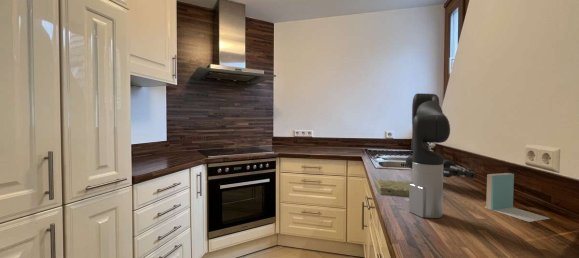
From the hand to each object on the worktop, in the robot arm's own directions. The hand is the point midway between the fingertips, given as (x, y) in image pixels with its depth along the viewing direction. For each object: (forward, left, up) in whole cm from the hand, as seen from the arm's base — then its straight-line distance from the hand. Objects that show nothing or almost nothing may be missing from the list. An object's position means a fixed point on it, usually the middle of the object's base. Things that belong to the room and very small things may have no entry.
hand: (474, 175), depth 104 cm
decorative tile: (-19, +19, -10) cm, 29 cm away
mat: (-1, -15, -10) cm, 18 cm away
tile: (-1, -10, -9) cm, 14 cm away
